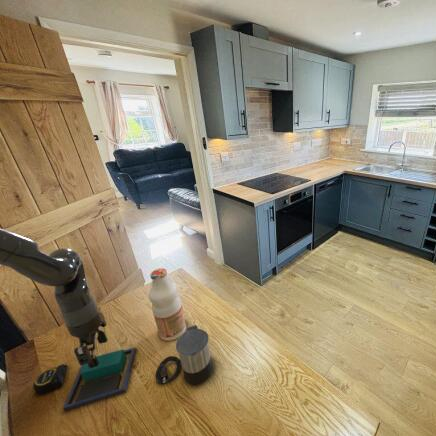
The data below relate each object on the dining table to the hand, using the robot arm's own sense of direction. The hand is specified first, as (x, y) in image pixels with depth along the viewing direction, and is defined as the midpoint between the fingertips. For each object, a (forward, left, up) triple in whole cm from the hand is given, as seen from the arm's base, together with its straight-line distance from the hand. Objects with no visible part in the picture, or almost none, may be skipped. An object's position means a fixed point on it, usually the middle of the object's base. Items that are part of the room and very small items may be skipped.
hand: (99, 353), depth 74 cm
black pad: (0, -7, -8) cm, 11 cm away
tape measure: (-14, +1, -9) cm, 16 cm away
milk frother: (+24, -10, -9) cm, 27 cm away
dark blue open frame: (0, -3, -8) cm, 9 cm away
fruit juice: (+19, +9, -9) cm, 23 cm away
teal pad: (0, 0, -8) cm, 8 cm away
